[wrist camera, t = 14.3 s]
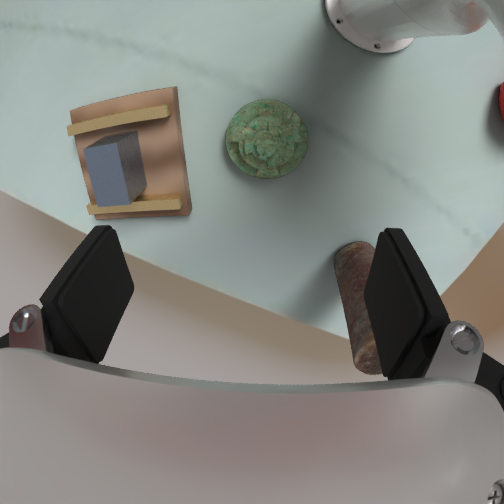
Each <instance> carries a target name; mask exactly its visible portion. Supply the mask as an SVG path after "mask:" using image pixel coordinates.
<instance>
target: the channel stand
mask: <svg viewBox="0 0 504 504" xmlns="http://www.w3.org/2000/svg"><path fill="white" fill-rule="evenodd" d="M70 115H71V121H72V124H71V125H69V126H67V130H68V135H69V136H72V135H74V137H75V141H76V146H77V151H78V155H79V159H80V164H81V168H82V172H83V176H84V180H85V183H86V187H87V191H88V194H89V198H90V201H91V202H90V203H89V204H88V205H87V209H88V213H89V215H90V214H94V215H95V218H96V220H97V219H113V218H132V217H153V216H178V215H189V214H190V212H191V210H192V204H191V197H190V190H189V183H188V176H187V169H186V162H185V154H184V146H183V138H182V129H181V120H180V111H179V102H178V92H177V86H176V87H170V88H163V89H157V90H151V91H146V92H141V93H136V94H131V95H126V96H122V97H117V98H113V99H109V100H105V101H101V102H97V103H94V104H90V105H86V106H83V107H79V108H76V109H74V110H71V111H70ZM131 131H138V137H139V144H140V149H141V155H142V161H143V166H144V171H145V176H146V182H147V186H146V187H145V188H144V189H143V191H142V192H141V193H140V194H139V195H138V196H137V197H136V199H135V200H134V201H133V202H132V203H131V204H130V205H119V206H107V207H98V206H97V202H96V199H95V195H94V192H93V188H92V184H91V181H90V177H89V173H88V169H87V165H86V160H85V156H84V152H83V149H84V148H86V147H88V146H89V145H91V144H93V143H95V142H96V141H98V140H100V139H102V138H103V137H105V136H109V135H114V134H119V133H125V132H131Z"/></svg>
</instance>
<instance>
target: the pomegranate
mask: <svg viewBox="0 0 504 504" xmlns="http://www.w3.org/2000/svg"><path fill="white" fill-rule="evenodd" d="M499 106H500V110H501V115H502V118H503V121H504V83H502V84H501V87H500V94H499Z"/></svg>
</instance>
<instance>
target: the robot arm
mask: <svg viewBox="0 0 504 504" xmlns="http://www.w3.org/2000/svg"><path fill="white" fill-rule="evenodd" d="M325 7H326V11H327V14H328V17H329V19H330V21H331V23H332V24H333V25H334V27H335V28H336V30H337V31H338V32H339V33H340V34H341V35H342V36H343V37H344V38H346V39H347V40H348V41H350V42H351V43H353V44H354V45H356V46H358V47H360V48H362V49H365V50H368V51H372V52H377V53H390V52H396V51H400V50H402V49H404V48H406V47H407V46H408V45H410V44H411V43H412V42H413V41H414V39H415V38H418V37H430V36H447V35H465V34H470V33H473V32H475V31H477V30H479V29H480V28H482V27H483V26H484V25H485V24H486V23H487V22H488V20H489V19H490V20H491V21H492V22H493V24H494V25H495V27H496V29H497V30H498V32H499V33H500V35H501V36H502V38H504V0H325ZM337 20H338V21H340V24H338V23H337V22H336V21H337ZM374 45H376V46H377V48H375V47H374ZM133 292H134V284H133V281H132V278H131V275H130V272H129V269H128V267H127V264H126V261H125V258H124V255H123V252H122V248H121V245H120V242H119V239H118V236H117V233H116V231H115V230H114V229H112V227H111V226H109V225H100V226H95V227H94V228H93V229H92V230H91V232H90V233H89V234H88V235H87V237H86V238H85V239H84V240H83V241H82V243H81V244H80V245H79V246H78V248H77V249H76V250H75V251H74V253H73V254H72V255H71V256H70V258H69V259H68V260H67V262H66V263H65V264H64V266H63V267H62V268H61V270H60V271H59V272H58V274H57V275H56V276H55V278H54V279H53V281H52V282H51V284H50V285H49V286H48V288H47V289H46V291H45V292H44V293H43V295H42V296H41V298H40V299H39V300H40V302H41V303H42V305H43V307H42V309H40V308H39V307H38V306H37V305H34V304H31V305H27V306H24V307H22V308H21V309H19V310H18V311H17V312H16V313H15V314H14V316H13V317H12V319H11V321H10V325H9V333H7V334H6V335H4V336H2V337H0V504H504V365H502V364H501V363H499V362H497V361H496V360H494V359H493V358H491V357H490V356H488V355H487V354H485V353H484V352H483V350H484V342H483V338H482V336H481V334H480V333H479V331H478V330H477V329H476V328H475V327H474V326H472V325H471V324H470V323H467V322H465V321H453V322H451V321H450V319H449V317H448V313H447V311H446V309H445V306H444V304H443V302H442V300H441V298H440V296H439V294H438V292H437V290H436V288H435V286H434V284H433V282H432V280H431V279H430V277H429V275H428V273H427V271H426V269H425V267H424V266H423V264H422V262H421V260H420V258H419V257H418V255H417V253H416V251H415V250H414V248H413V246H412V245H411V243H410V241H409V239H408V238H407V236H406V235H405V233H404V231H403V230H402V229H400V228H386V229H385V230H384V232H380V234H379V236H378V241H377V245H376V249H375V253H374V256H373V260H372V264H371V268H370V271H369V275H368V278H367V282H366V285H365V289H364V301H365V305H366V308H367V312H368V316H369V319H370V323H371V327H372V331H373V335H374V339H375V343H376V347H377V351H378V356H379V360H380V365H381V369H382V373H383V376H384V377H388V381H376V382H362V383H342V384H315V385H277V384H276V385H275V384H248V383H230V382H217V381H206V380H195V379H187V378H178V377H170V376H163V375H156V374H149V373H143V372H137V371H131V370H126V369H120V368H115V367H110V366H105V365H100V364H99V362H100V361H102V360H103V359H104V356H105V354H106V351H107V349H108V347H109V344H110V342H111V340H112V338H113V335H114V333H115V331H116V329H117V326H118V324H119V322H120V320H121V317H122V316H123V313H124V311H125V309H126V307H127V305H128V303H129V300H130V298H131V296H132V294H133Z"/></svg>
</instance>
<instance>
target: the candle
mask: <svg viewBox="0 0 504 504" xmlns="http://www.w3.org/2000/svg"><path fill="white" fill-rule="evenodd" d="M374 253H375V249H374V247H373V246H371V245H370V244H369V243H367V242H363V241H359V242H354V243H352V244H350V245H349V246H346V247H345V248H343V249H341V250H340V251H339V252H338V253H337V254H336V257H335V259H334V269H335V273H336V278H337V282H338V287H339V291H340V295H341V299H342V303H343V308H344V313H345V318H346V322H347V328H348V332H349V338H350V344H351V349H352V354H353V362H354V365H355V367H356V368H357V369H359V370H360V371H362V372H363V373H365V374H370V375H376V374H383V373H382V369H381V365H380V360H379V356H378V351H377V347H376V343H375V339H374V335H373V331H372V327H371V323H370V319H369V316H368V312H367V308H366V305H365V301H364V289H365V285H366V282H367V278H368V275H369V271H370V268H371V264H372V260H373V256H374Z"/></svg>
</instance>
